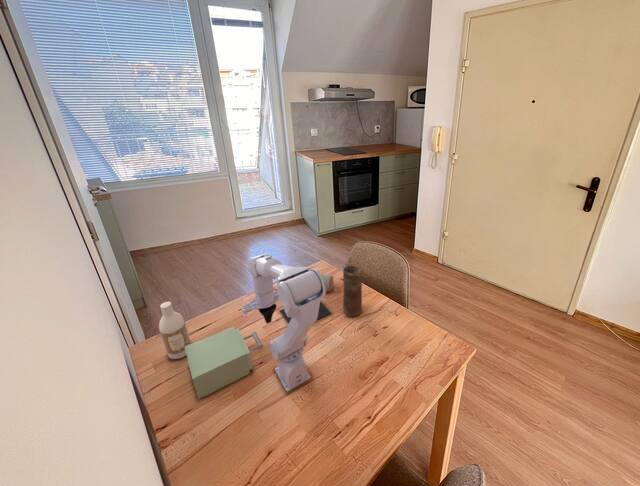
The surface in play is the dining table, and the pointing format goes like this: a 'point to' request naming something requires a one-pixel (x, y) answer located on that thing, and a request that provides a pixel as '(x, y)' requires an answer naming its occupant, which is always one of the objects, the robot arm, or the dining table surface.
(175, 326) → the bath foam
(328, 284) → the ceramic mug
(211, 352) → the green drawer cabinet
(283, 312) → the mat
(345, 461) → the dining table surface
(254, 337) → the drawer
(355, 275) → the dark brown flask
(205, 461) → the dining table surface
